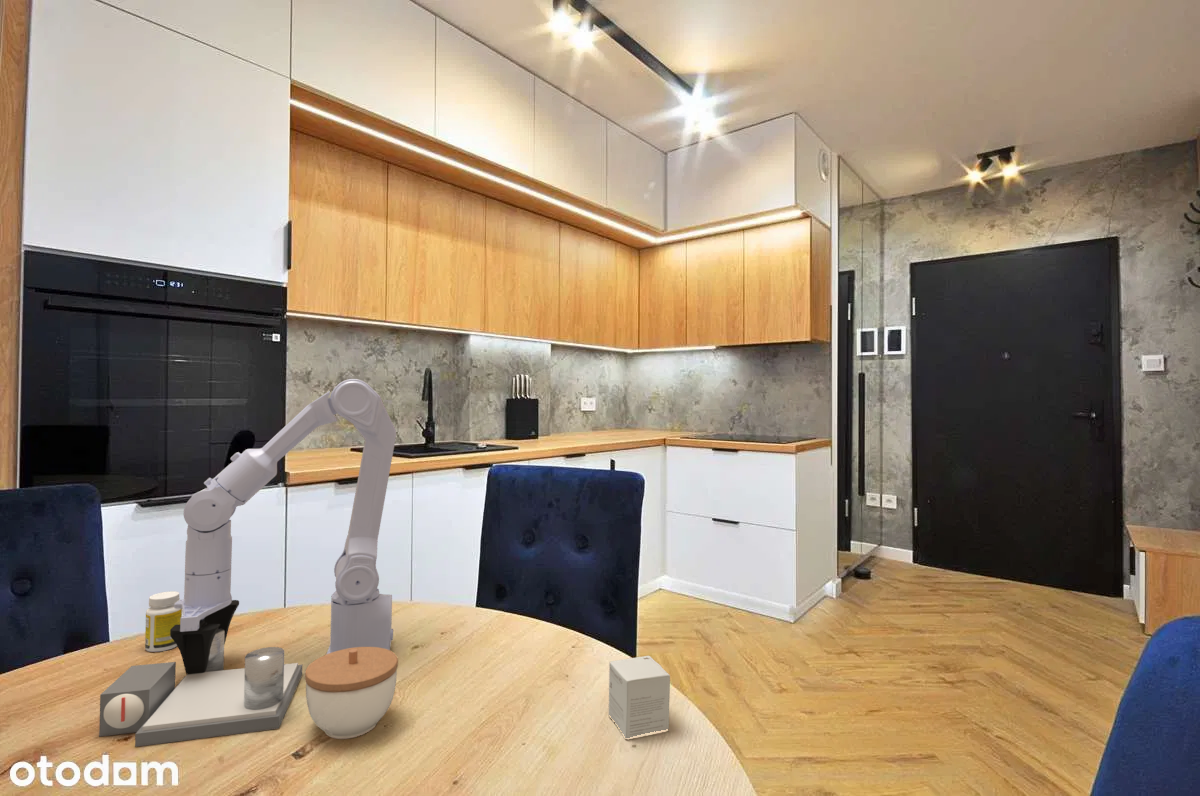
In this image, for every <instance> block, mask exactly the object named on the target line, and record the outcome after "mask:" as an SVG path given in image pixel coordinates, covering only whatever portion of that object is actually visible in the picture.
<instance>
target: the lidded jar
mask: <svg viewBox="0 0 1200 796" xmlns="http://www.w3.org/2000/svg"><path fill="white" fill-rule="evenodd" d="M398 666H399V658H398V655H396V653H395V652H393V651H392V650H391V649H390V650H387V649H384V648H379V647H355V648H348V649H343V650H339V651H335V652H332V653H329V654H327V653H326V654H323V655H322V656H320V657H317V659H315V660H313V661H312V662H310V664H308V666H307V667H306V669H305V673H304V681H305V698H306V705H307V708H308V713H309V715H310V717H311V720H312V721H313V723H314V724H315V725H316V726H317V727H318V728H319V729H320V730H322V731H323V732H324V734H325V735H326V736H327V737H329V738H331V739H336V740H348V739H354V738H357V736H358V737H361V736H363V735H365V733H366V734H367V732H368V733H369V732H371V731H372V730H373V729H374V728H376V726H377V724H378V723H379V721H381V719H382V718H383V717H384V716H385V714H386V713H387V712H388V710H389V708H390V706H391V704H392V702H393V698H394V695H395V690H396V685H397V674H398V673H397V669H398ZM370 730H371V731H370ZM360 735H361V736H360Z"/></svg>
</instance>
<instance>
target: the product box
mask: <svg viewBox="0 0 1200 796" xmlns="http://www.w3.org/2000/svg"><path fill="white" fill-rule="evenodd" d="M608 666H609V667H608V668H609V671H608V672H609V674H608V675H609V676H608V677H609V679H608V716H609V715H610V716H611V718H612V719H613V720H614V721H615V723H616V724H617V725H618V727H619V728H620V730H621V731H622V733H623V734H624V736H625V738H630V737H633V736H637V735H641V734H645V733H650V732H654V731H655V732H656V731H661V730H666V729H669V730H670V726H669V725H670V698H671V697H670V694H671V693H670V692H671V675H670V674H669V673H668V672H667V671H666V670H665V669H664V668H663V667H662V665H661V664H659V662H657V661H656V660H654V658H653V657H652V656H650V655H644V656H638V657H637V656H636V657H632V658H631V657H630V658H623V659H617V660H612V661H609V665H608Z"/></svg>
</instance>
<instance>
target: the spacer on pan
mask: <svg viewBox="0 0 1200 796" xmlns="http://www.w3.org/2000/svg"><path fill="white" fill-rule="evenodd" d="M284 664H285V649H284V648H282V647H278V646H270V647H262V648H257V649H255V650H252V651H249V652H248V653H247V654H246V655H245V656H244V668H245V674H244V707H245V708H246V709H249V710H260V709H265V708H269V707H272V706H274V705H276V704H278V703H279V702H281V701H282V699H283V685H284Z"/></svg>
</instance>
